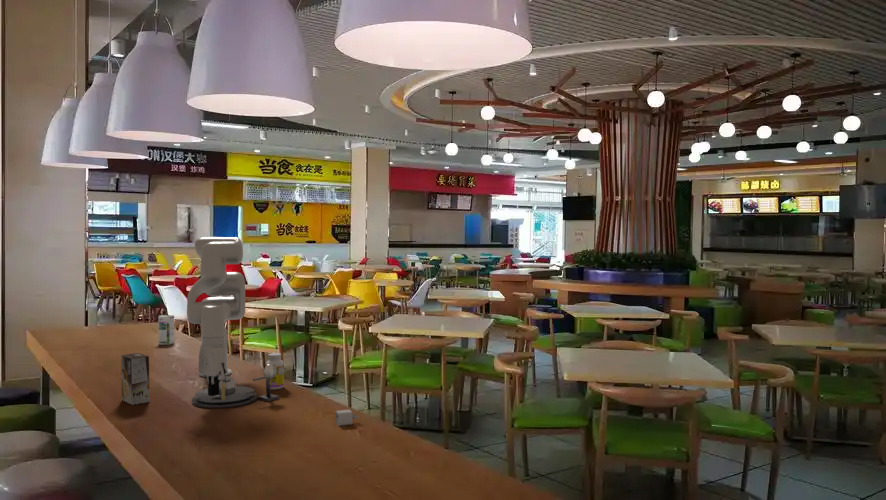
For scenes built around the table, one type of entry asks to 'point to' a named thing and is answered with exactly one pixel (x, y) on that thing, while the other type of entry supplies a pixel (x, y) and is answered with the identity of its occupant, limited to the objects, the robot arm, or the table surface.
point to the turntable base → (227, 405)
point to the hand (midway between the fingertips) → (213, 394)
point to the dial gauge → (268, 382)
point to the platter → (222, 398)
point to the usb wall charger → (345, 417)
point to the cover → (228, 385)
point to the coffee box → (135, 378)
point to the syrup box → (166, 329)
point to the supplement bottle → (278, 379)
